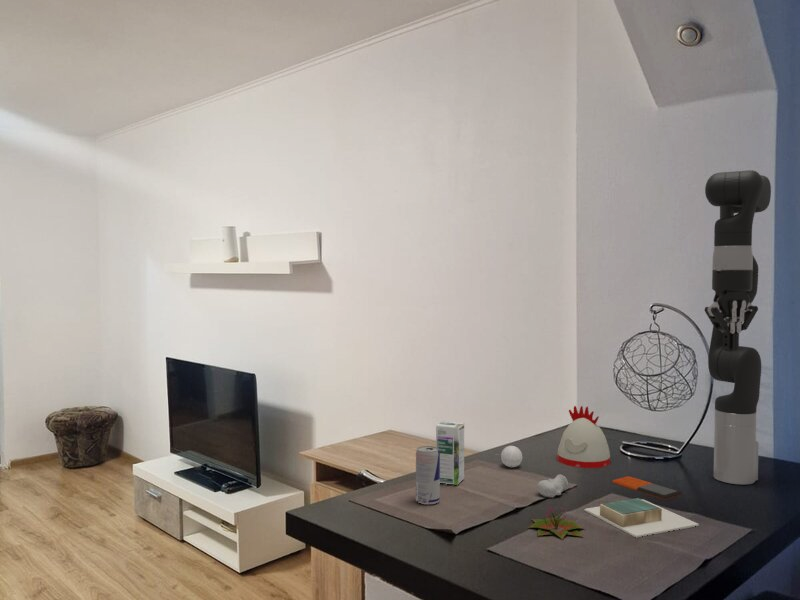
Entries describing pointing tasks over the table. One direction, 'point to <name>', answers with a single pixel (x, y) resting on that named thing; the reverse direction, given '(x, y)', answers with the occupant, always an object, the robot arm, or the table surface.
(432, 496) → the energy drink
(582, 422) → the kitchen timer
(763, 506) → the table surface
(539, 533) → the lily flower
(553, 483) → the smooth white sculpture
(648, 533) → the mat
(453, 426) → the syrup box
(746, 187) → the robot arm
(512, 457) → the seamed sphere
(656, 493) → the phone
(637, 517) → the slab
